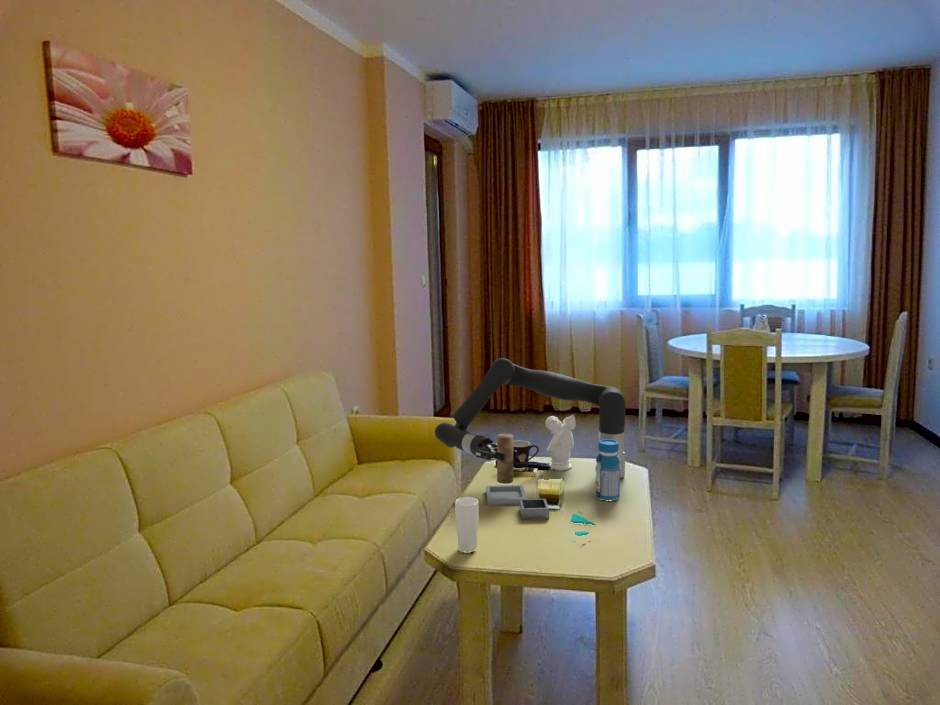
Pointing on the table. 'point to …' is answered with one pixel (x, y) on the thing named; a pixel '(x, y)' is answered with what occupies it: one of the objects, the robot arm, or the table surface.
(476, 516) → the drinking glass
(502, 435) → the canister
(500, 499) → the tray
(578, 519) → the cloth
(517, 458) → the coffee mug
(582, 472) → the table surface
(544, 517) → the holder cup
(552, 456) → the cherub figurine
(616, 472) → the beverage bottle
